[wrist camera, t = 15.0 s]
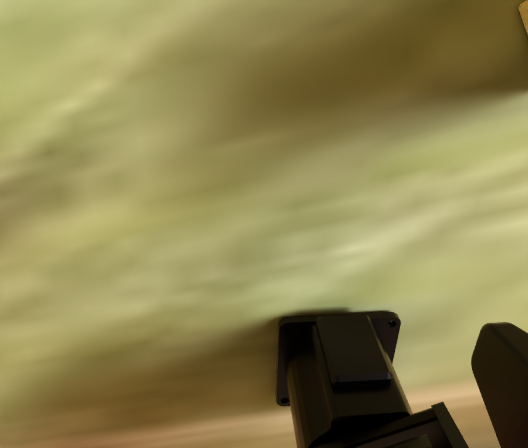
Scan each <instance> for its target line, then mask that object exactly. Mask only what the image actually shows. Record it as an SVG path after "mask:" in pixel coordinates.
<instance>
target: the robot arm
mask: <svg viewBox="0 0 528 448" xmlns="http://www.w3.org/2000/svg"><path fill="white" fill-rule="evenodd" d="M389 321H392V322H390V323H388V322H389ZM400 325H401V321H400V319H399V317H398V315H397V314H396V313H394V312H382V313H362V314H342V315H322V316H303V317H287V318H283V319H281V320H280V322H279V324H278V342H277V370H276V402H277V404H278V405H280V406H291V412H292V418H293V424H294V431H295V437H296V443H297V448H469V447H468V445H467V444H466V442H465V440H464V438H463V436H462V435H461V433H460V431H459V429H458V428H457V426H456V424H455V422H454V420H453V419H452V417H451V415H450V413H449V412H448V410H447V408H446V406H445V404H444V403H443V402H440V403H437V404H434V405H431V407H432V408H429V409H426V410H423V411H420V412H417V413H414V414H413V413H412V411H411V408H410V406H409V404H408V401H407V399H406V396H405V394H404V392H403V389H402V387H401V385H400V382H399V380H398V377H397V375H396V373H395V370H394V368H393V366H392V362H393V358H394V353H395V348H396V344H397V339H398V334H399V330H400ZM287 326H291V327H290V328H285V327H287ZM471 365H472V371H473V374H474V377H475V379H476V382H477V385H478V387H479V390H480V393H481V395H482V398H483V401H484V403H485V406H486V409H487V411H488V414H489V417H490V419H491V422H492V425H493V428H494V430H495V433H496V436H497V438H498V441H499V444H500V446H501V448H528V333H527V332H525V331H523V330H522V329H520V328H518V327H517V326H515V325H513V324H511V323H507V322H500V323H487V324H485V325H484V326H483V327H482V328H481V330H480V333H479V337H478V340H477V343H476V346H475V349H474V352H473V355H472V359H471Z"/></svg>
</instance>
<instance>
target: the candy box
mask: <svg viewBox="0 0 528 448" xmlns="http://www.w3.org/2000/svg"><path fill="white" fill-rule="evenodd" d="M518 9H519V12H520V14H521V18H522V21H523V24H524V26H525V29H526V32H527V35H528V0H526V1H525V2H523V3H522V4H520V6H519V7H518Z"/></svg>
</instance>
